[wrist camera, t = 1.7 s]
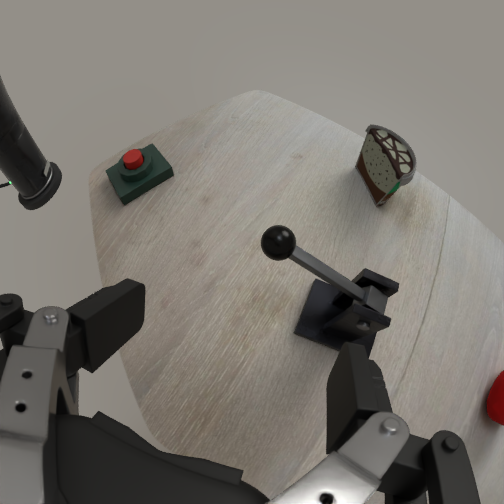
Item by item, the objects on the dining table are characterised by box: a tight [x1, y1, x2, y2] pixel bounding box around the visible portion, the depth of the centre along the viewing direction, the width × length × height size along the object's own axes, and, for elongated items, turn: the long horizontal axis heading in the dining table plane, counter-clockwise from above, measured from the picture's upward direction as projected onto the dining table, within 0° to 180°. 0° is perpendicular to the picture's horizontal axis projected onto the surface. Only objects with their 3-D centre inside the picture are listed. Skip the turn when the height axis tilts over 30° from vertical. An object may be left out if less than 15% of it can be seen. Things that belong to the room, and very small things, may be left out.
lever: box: [261, 225, 388, 315], centre depth 27 cm, size 15×3×3 cm, turn 66°
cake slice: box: [355, 125, 416, 206], centre depth 43 cm, size 12×6×10 cm, turn 13°
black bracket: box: [294, 268, 399, 359], centre depth 31 cm, size 11×8×12 cm
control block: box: [106, 144, 174, 205], centre depth 44 cm, size 10×8×4 cm
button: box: [123, 149, 143, 170], centre depth 42 cm, size 3×3×2 cm
